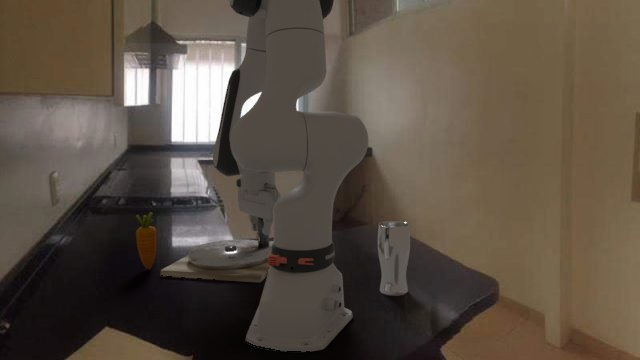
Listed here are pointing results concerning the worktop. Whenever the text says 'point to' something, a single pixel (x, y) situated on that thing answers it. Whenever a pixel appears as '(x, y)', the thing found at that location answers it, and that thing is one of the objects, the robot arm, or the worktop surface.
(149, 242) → the carrot
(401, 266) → the beer glass
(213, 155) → the robot arm
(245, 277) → the dial base
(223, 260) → the dial
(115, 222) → the worktop surface
